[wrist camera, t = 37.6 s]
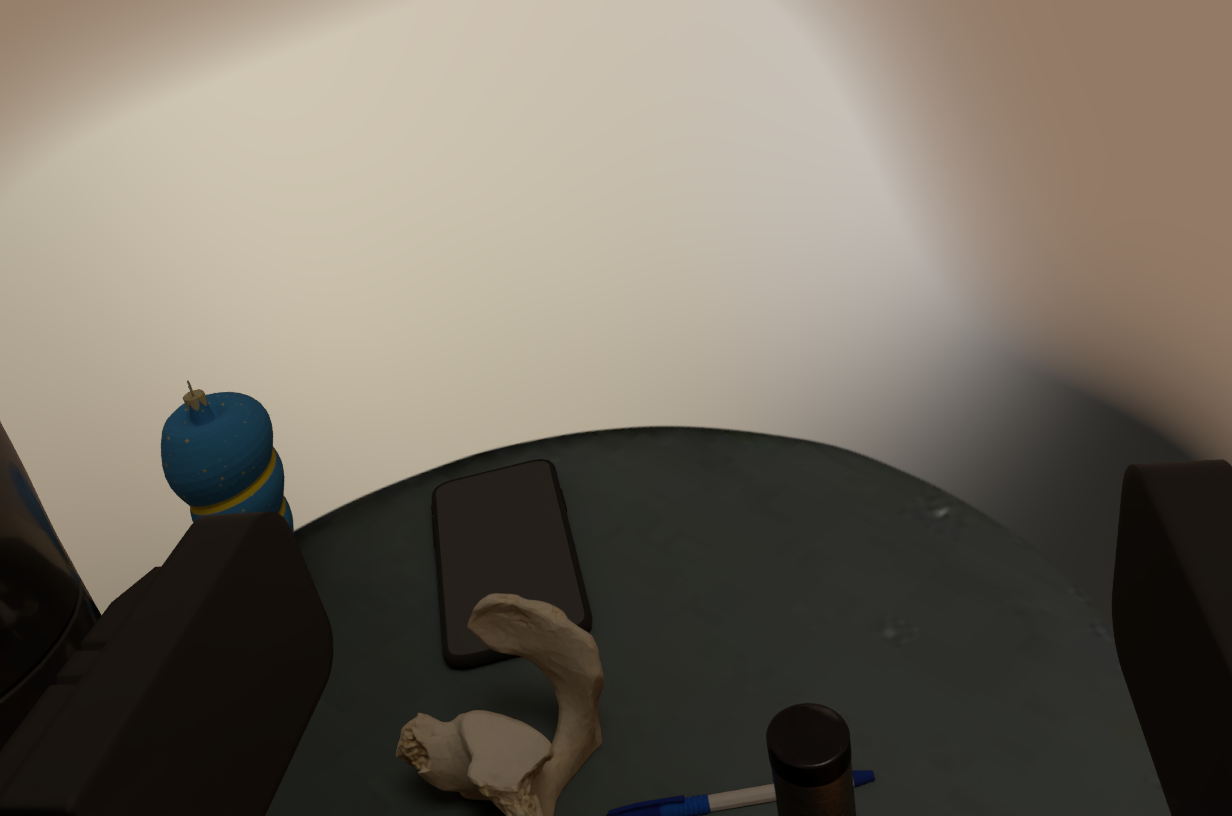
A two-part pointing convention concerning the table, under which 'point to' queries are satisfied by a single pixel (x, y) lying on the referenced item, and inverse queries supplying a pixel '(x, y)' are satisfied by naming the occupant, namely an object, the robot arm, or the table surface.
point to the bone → (505, 747)
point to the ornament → (223, 456)
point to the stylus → (811, 762)
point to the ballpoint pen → (713, 801)
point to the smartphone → (503, 551)
